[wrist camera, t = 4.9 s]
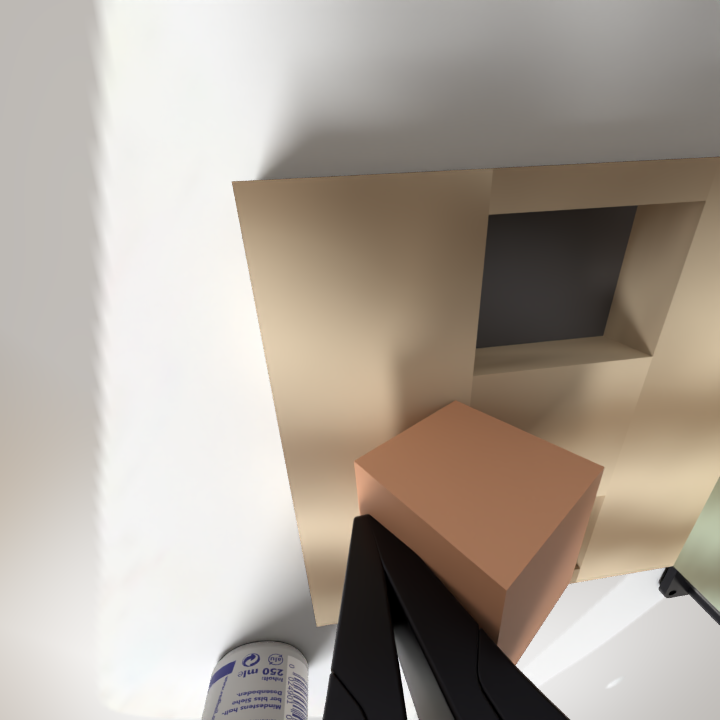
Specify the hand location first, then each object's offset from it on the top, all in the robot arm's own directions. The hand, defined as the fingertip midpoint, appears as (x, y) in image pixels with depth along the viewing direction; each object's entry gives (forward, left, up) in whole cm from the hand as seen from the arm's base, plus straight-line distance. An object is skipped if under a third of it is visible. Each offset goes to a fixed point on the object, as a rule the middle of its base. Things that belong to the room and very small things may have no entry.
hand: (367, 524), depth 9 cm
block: (0, -2, -1) cm, 2 cm away
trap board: (0, -7, -5) cm, 8 cm away
